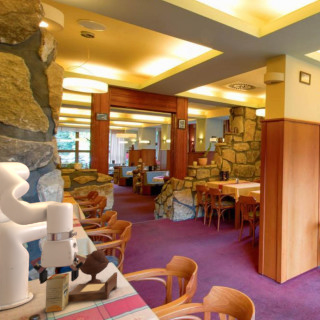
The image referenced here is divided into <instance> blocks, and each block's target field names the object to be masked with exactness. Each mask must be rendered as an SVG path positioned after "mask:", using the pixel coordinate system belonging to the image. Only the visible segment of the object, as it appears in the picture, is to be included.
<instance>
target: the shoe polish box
mask: <svg viewBox="0 0 320 320" xmlns="http://www.w3.org/2000/svg"><path fill="white" fill-rule="evenodd" d="M69 282H70V273H69V272H67V273H56V274H55V273H54V274H52V275H51V276H49V277H48V279H47V281H46V282H45V284H46V286H45V287H46V288H45V313H52V312H61V311H63V310H64V309H65V308H66V307H67V306H68V305H69V302H68V293H69V292H70V291H69V289H70V287H69V285H70V283H69Z"/></svg>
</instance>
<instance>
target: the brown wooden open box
mask: <svg viewBox="0 0 320 320" xmlns="http://www.w3.org/2000/svg"><path fill="white" fill-rule="evenodd" d="M116 289H118V272H117V271H116V272H114V273H113V274H112V275H111V276H110V277H108V278H107V279H106V280H105V281H103V282H102V281H101V282H100V283H87V282H86V283H79V284H77V285H76V286H75V287H74V288H72V290H71V291H69V292H68V303H75V302H88V301H89V302H90V301H99V300H101V301H102V300H108V299H109V297H110V292H111V291H115V290H116Z"/></svg>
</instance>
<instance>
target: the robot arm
mask: <svg viewBox="0 0 320 320" xmlns="http://www.w3.org/2000/svg"><path fill="white" fill-rule="evenodd" d="M30 172H31V171H30V169H29V167H28V166H27V165H26V164H24V163H23V162H16V161H8V162H7V161H0V311H3V310H8V309H13V308H17V307H19V306H22V305H24V304H27V303H29V302H30V301H32V299H33V298H34V293H33V292H30V291H29V275H30V274H29V268H30V264H31V266H32V268H33V270H35V271H36V273H37V274H38V280H39V284H40V285H42V284H44V283H46V281H47V279H48V278H49V276H48V271H49V270H48V268H62V267H64V268H65V267H69V268H70V269H71V272H70V281H71V282H74V281H76V280H77V279H78V278H79V274H80V267H81V266H82V265H83V264H84V262H85V261H86V259H87V257H86V255H83V254H81V253H79V247H78V243H77V238H76V237H75V236H78V232H77V231H74V205H73V203H71V202H59V201H55V200H47V201H38V202H32V203H31V202H30V203H29V202H28V201H25V200H20V198H21V197H24V195H26V194H27V192H29V189H30V184H29V182H27V180H28V179H29V177H30V174H31V173H30ZM43 238H45V239H46V240H44V242H43V245H42V249H41V255H40V256H39V257H37V258H35V259H33V260H30V254H29V251H28V249H26V248H25V246H24V245H23V244H27V243H30V242H34V241H37V240H40V239H43ZM79 260H80V261H79ZM78 261H79V262H78ZM39 262H40V264H39Z"/></svg>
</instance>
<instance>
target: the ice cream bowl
mask: <svg viewBox="0 0 320 320" xmlns="http://www.w3.org/2000/svg"><path fill="white" fill-rule="evenodd" d="M85 256H86V257H87V259H86V261H85V262H84V264H83V265H82V266H81V267H80V268H79V271H81V272H82V273H83V274H84V275H88V276H91V277H90V280H88V281H87V282H86V283H100V282H102V281H101V279H99V278H97V275H98V274H100V273H101V272H103V271H104V270H105V269H107V267H108V265H109V262H110V260H109V259H108V258H107V256H106V253H105V251H104V250H102V249H96V250H93V251H92V252H91V253H88V254H86V255H85Z"/></svg>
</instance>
